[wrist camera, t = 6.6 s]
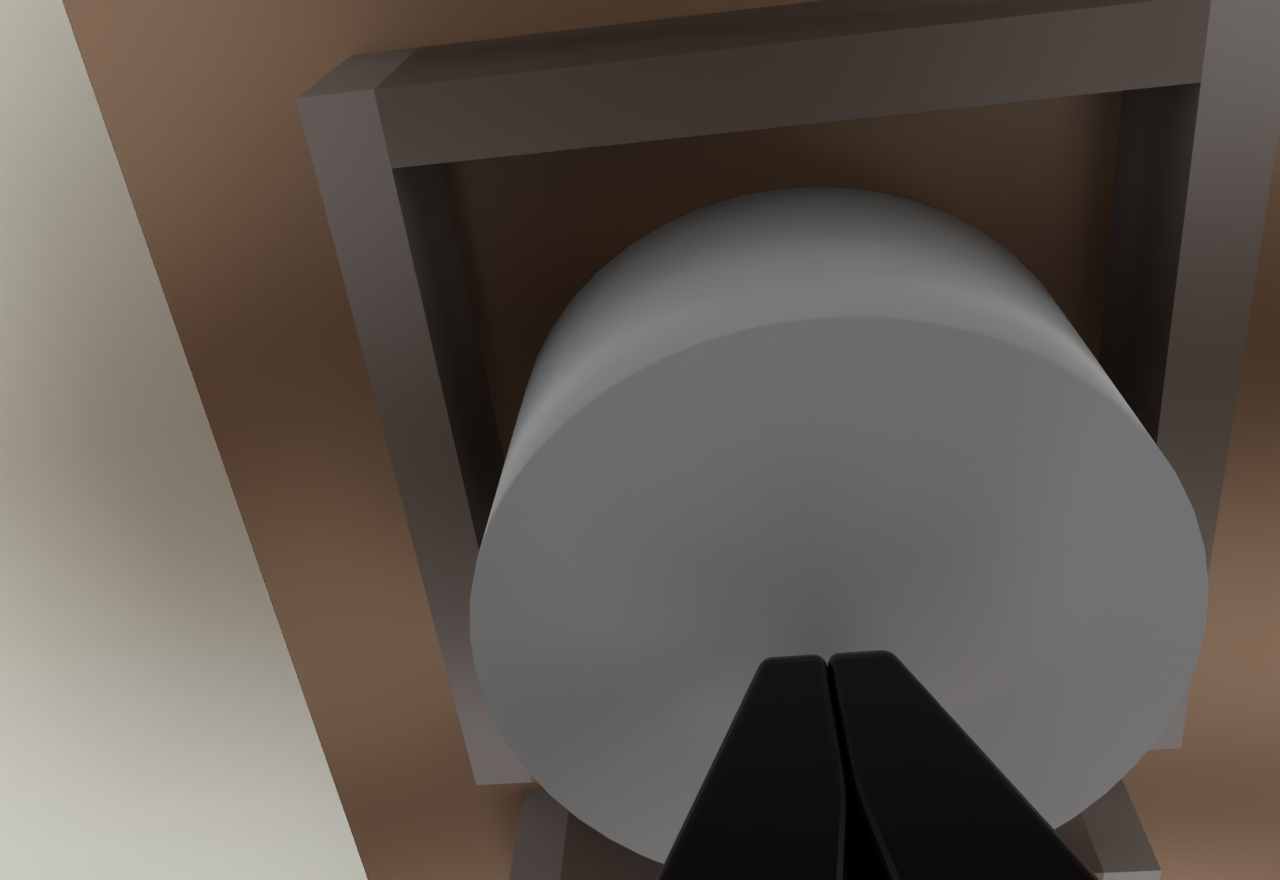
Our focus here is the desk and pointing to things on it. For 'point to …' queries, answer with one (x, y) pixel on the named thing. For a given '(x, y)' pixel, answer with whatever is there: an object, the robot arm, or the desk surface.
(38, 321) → the desk surface
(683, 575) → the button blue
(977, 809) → the robot arm
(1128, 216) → the button panel
